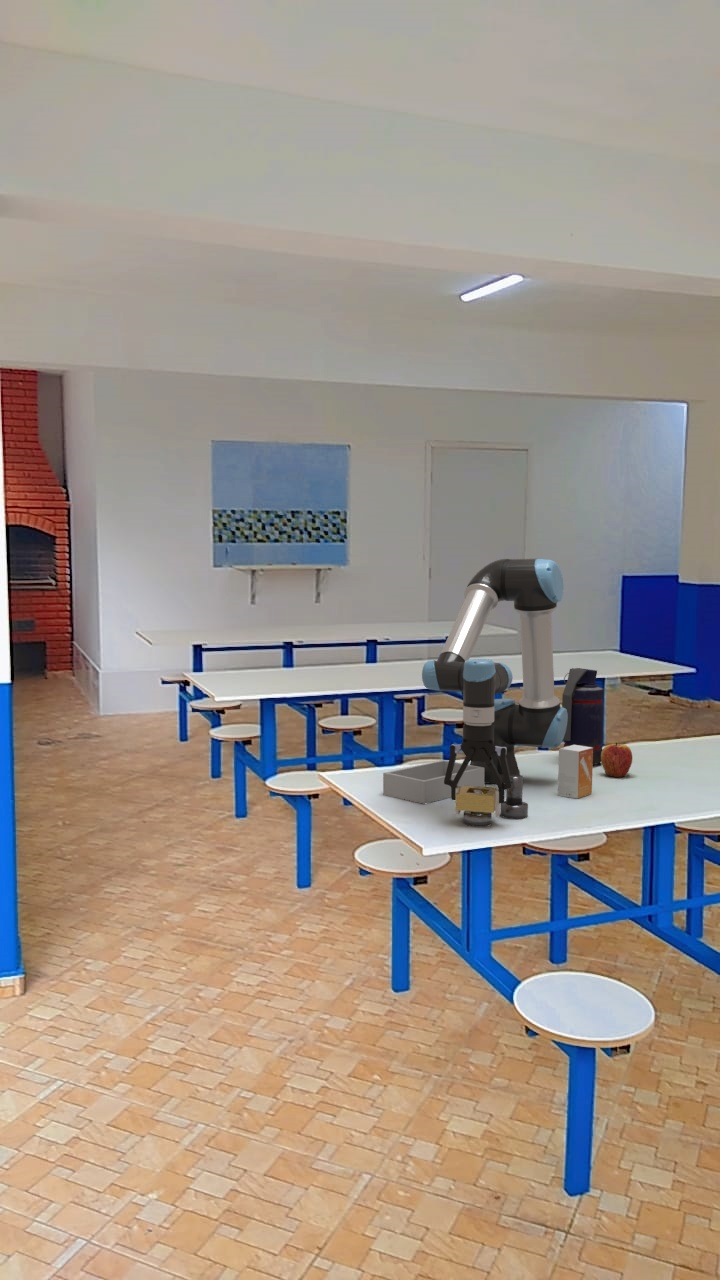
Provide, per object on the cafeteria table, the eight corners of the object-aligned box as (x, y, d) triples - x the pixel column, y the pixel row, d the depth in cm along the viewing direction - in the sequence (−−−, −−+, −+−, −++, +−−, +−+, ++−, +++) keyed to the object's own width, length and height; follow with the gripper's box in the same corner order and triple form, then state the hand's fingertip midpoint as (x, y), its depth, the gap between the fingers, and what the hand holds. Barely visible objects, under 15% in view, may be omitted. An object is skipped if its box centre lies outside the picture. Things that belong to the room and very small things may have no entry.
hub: (457, 822, 245) (457, 790, 244) (475, 817, 250) (475, 786, 249) (479, 828, 240) (479, 795, 240) (497, 822, 245) (497, 790, 244)
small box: (578, 799, 269) (579, 751, 268) (557, 795, 273) (558, 748, 272) (592, 794, 275) (593, 747, 274) (572, 790, 279) (572, 744, 278)
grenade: (582, 758, 324) (584, 665, 321) (610, 764, 314) (612, 669, 311) (550, 763, 316) (552, 668, 314) (578, 769, 306) (580, 672, 304)
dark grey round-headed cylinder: (494, 815, 252) (495, 776, 251) (511, 810, 257) (511, 772, 256) (516, 820, 247) (517, 780, 246) (533, 815, 252) (533, 776, 251)
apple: (602, 778, 294) (603, 745, 293) (598, 772, 303) (599, 739, 302) (634, 779, 293) (635, 745, 292) (629, 773, 302) (630, 740, 301)
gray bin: (383, 794, 274) (383, 772, 274) (443, 780, 292) (443, 759, 291) (424, 804, 263) (424, 781, 263) (484, 788, 281) (484, 767, 280)
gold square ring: (456, 810, 242) (456, 793, 241) (462, 801, 250) (462, 785, 250) (493, 812, 239) (493, 796, 239) (498, 803, 248) (498, 787, 247)
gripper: (431, 723, 242) (430, 815, 244) (522, 727, 236) (520, 821, 238) (437, 718, 250) (436, 807, 251) (525, 722, 244) (524, 814, 246)
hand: (477, 814), depth 245 cm, fingers closed on gold square ring, 9 cm apart
